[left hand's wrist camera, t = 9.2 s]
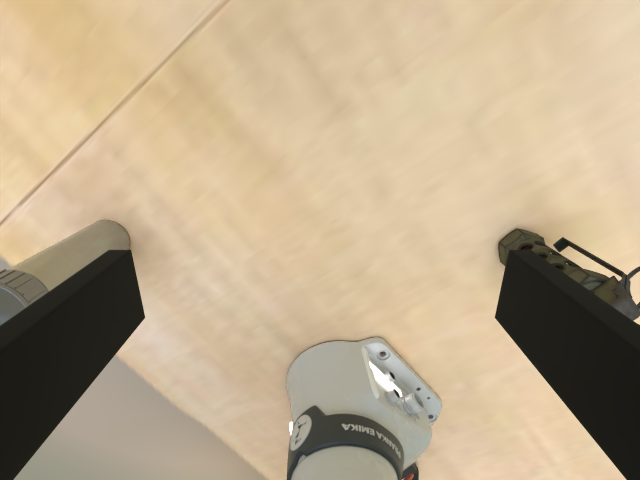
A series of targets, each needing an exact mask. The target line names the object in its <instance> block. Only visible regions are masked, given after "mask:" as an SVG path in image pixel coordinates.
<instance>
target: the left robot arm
mask: <svg viewBox="0 0 640 480" xmlns="http://www.w3.org/2000/svg"><path fill="white" fill-rule="evenodd" d="M144 318H145V315H144V310H143V305H142V300H141V296H140V291H139V286H138V281H137V276H136V272H135V267H134V262H133V257H132V252H131V250H108V251H106V252H105V253H104V254H102V255H101V256H99V257H98V258H96V259H95V260H94V261H92V262H91V263H89V264H88V265H86V266H85V267H84V268H82V269H81V270H79V271H78V272H76V273H75V274H74V275H72V276H71V277H69V278H68V279H66V280H65V281H63V282H62V283H61V284H59V285H58V286H56V287H55V288H53V289H52V290H51V291H49V292H48V293H46V294H45V295H43V296H42V297H41V298H39V299H38V300H36V301H35V302H33V303H32V304H31V305H29V306H28V307H26V308H25V309H23V310H22V311H20V312H19V313H18V314H16V315H15V316H13V317H12V318H10V319H9V320H8V321H6V322H5V323H3V324H2V325H0V480H13V479H14V478H15V477H16V476H17V474H18V473H19V472H20V471H21V470H22V468H23V467H24V466H25V465H26V463H27V462H28V461H29V460H30V458H31V457H32V456H33V455H34V454H35V452H36V451H37V450H38V449H39V447H40V446H41V445H42V444H43V443H44V441H45V440H46V439H47V438H48V436H49V435H50V434H51V433H52V431H53V430H54V429H55V428H56V427H57V425H58V424H59V423H60V422H61V420H62V419H63V418H64V417H65V415H66V414H67V413H68V412H69V411H70V409H71V408H72V407H73V406H74V404H75V403H76V402H77V401H78V399H79V398H80V397H81V396H82V395H83V393H84V392H85V391H86V390H87V388H88V387H89V386H90V385H91V383H92V382H93V381H94V380H95V379H96V377H97V376H98V375H99V374H100V372H101V371H102V370H103V369H104V368H105V366H106V365H107V364H108V363H109V361H110V360H111V359H112V358H113V356H114V355H115V354H116V353H117V352H118V350H119V349H120V348H121V347H122V345H123V344H124V343H125V342H126V340H127V339H128V338H129V337H130V336H131V334H132V333H133V332H134V331H135V329H136V328H137V327H138V326H139V324H140V323H141V322H142V321H143V320H144ZM495 318H496V320H497V321H498V322H499V323H500V324H501V326H502V327H503V328H504V329H505V331H506V332H507V333H508V334H509V336H510V337H511V338H512V339H513V340H514V342H515V343H516V344H517V345H518V347H519V348H520V349H521V350H522V352H523V353H524V354H525V355H526V356H527V358H528V359H529V360H530V361H531V363H532V364H533V365H534V366H535V368H536V369H537V370H538V371H539V372H540V374H541V375H542V376H543V377H544V379H545V380H546V381H547V382H548V383H549V385H550V386H551V387H552V388H553V390H554V391H555V392H556V393H557V395H558V396H559V397H560V398H561V399H562V401H563V402H564V403H565V404H566V406H567V407H568V408H569V409H570V411H571V412H572V413H573V414H574V415H575V417H576V418H577V419H578V420H579V422H580V423H581V424H582V425H583V427H584V428H585V429H586V430H587V431H588V433H589V434H590V435H591V436H592V438H593V439H594V440H595V441H596V443H597V444H598V445H599V446H600V447H601V449H602V450H603V451H604V452H605V454H606V455H607V456H608V457H609V458H610V460H611V461H612V462H613V463H614V465H615V466H616V467H617V468H618V470H619V471H620V472H621V473H622V474H623V476H624V477H625V478H626V479H627V480H640V325H639V324H637V323H635V322H634V321H632V320H631V319H630V318H628V317H627V316H625V315H624V314H622V313H621V312H620V311H618V310H617V309H615V308H614V307H612V306H611V305H609V304H608V303H607V302H605V301H604V300H602V299H601V298H599V297H598V296H597V295H595V294H594V293H592V292H591V291H589V290H588V289H587V288H585V287H584V286H582V285H581V284H579V283H578V282H577V281H575V280H574V279H572V278H571V277H569V276H568V275H566V274H565V273H564V272H562V271H561V270H559V269H558V268H556V267H555V266H554V265H552V264H551V263H549V262H548V261H546V260H545V259H544V258H542V257H541V256H539V255H538V254H536V253H535V252H534V251H532V250H509V252H508V257H507V262H506V267H505V272H504V276H503V281H502V286H501V291H500V296H499V300H498V305H497V310H496V315H495Z"/></svg>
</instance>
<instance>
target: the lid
mask: <svg viewBox="0 0 640 480" xmlns="http://www.w3.org/2000/svg"><path fill="white" fill-rule="evenodd" d="M46 293H48V291H47V289H46V288H45V287H44V285H43V284H42V283H41V282H40V281H39V280H37V279H36V278H34V277H33V276H31V275H29V274H27V273H25V272H22V271H18V270H6V269H4V270H1V271H0V325H2V324H3V323H5V322H6V321H8V320H9V319H10V318H12V317H13V316H15V315H16V314H18V313H19V312H20V311H22V310H23V309H25V308H26V307H28V306H29V305H31V304H32V303H33V302H35V301H36V300H38V299H39V298H41V297H42V296H43V295H45V294H46Z"/></svg>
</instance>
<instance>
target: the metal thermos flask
mask: <svg viewBox="0 0 640 480" xmlns="http://www.w3.org/2000/svg"><path fill="white" fill-rule="evenodd" d="M129 246H130V239H129V236H128V233H127V232H126V230H125V229H124V228H123V227H122V226H121V225H119V224H118V223H116V222H113V221H110V220H101V221H97V222H96V223H94V224H92V225H90V226H88V227H86V228H84V229H82V230H81V231H79V232H77V233H75V234H73V235H71V236H69V237H67V238H66V239H64V240H62V241H60V242H58V243H56V244H54V245H52V246H51V247H49V248H47V249H45V250H43V251H41V252H39V253H38V254H36V255H34V256H32V257H30V258H28V259H26V260H24V261H23V262H21V263H19V264H17V265H15V266H13V267H11V268H9V269H8V270H18V271H22V272H25V273H27V274H29V275H31V276H33V277H34V278H36V279H37V280H39V281H40V282H41V283H42V284H43V285H44V287H45V288H46V289H47V291H48V292H49V291H51V290H52V289H53V288H55V287H56V286H58V285H59V284H61V283H62V282H63V281H65V280H66V279H68V278H69V277H71V276H72V275H74V274H75V273H76V272H78V271H79V270H81V269H82V268H84V267H85V266H86V265H88V264H89V263H91V262H92V261H94V260H95V259H96V258H98V257H99V256H101V255H102V254H104V253H105V252H106V251H108V250H128V249H129Z"/></svg>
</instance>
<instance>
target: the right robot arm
mask: <svg viewBox="0 0 640 480" xmlns="http://www.w3.org/2000/svg"><path fill="white" fill-rule="evenodd" d="M382 351H384V353H380V352H382ZM286 387H287V392H288V395H289V400H290V406H291V414H292V422H290V434H291V438H290V444H289V452H288V467H287V480H402V479H404V478H405V479H404V480H418V468H417V467H416V465H415V461H416V460H417V459H418V458H420V457H421V455H422V454H423V453H424V452H425V451H426V449H427V448H428V446H429V444H430V441H431V437H432V429H431V426H432V425H433V424H434V422H435V421H436V419H437V418H438V416H439V414H440V411H441V408H442V403H441V400H440V398H439V397H438V396H437V395H436V394H435V392H434V391H433V390H432V389H431V388H430V387H429V386H428V385H427V384H426V383H425V382H424V381H423V380H422V379H421V378H420V377H419V376H418V375H417V374H416V373H415V372H414V371H413V369H412V368H411V367H410V366H409V365H408V364H407V363H406V362H405V361H404V360H403V359H402V358H401V357H400V356H399V355H398V354H397V353H396V352H395V351H394V350H393V349H392V348H391V346H390V345H389V344H388V343H387V342H386V341H385V340H384V339H382V338H379V337H374V338H369V339H365V340H362V341H358V342H349V341H332V342H326V343H322V344H319V345H316V346H314V347H311V348H309V349H308V350H306V351H304V352H303V353H302V354H301V355H299V356H298V357H297V358H296V359H295V361H294V362H293V363H292V365H291V367H290V369H289V371H288V374H287V379H286Z"/></svg>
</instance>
